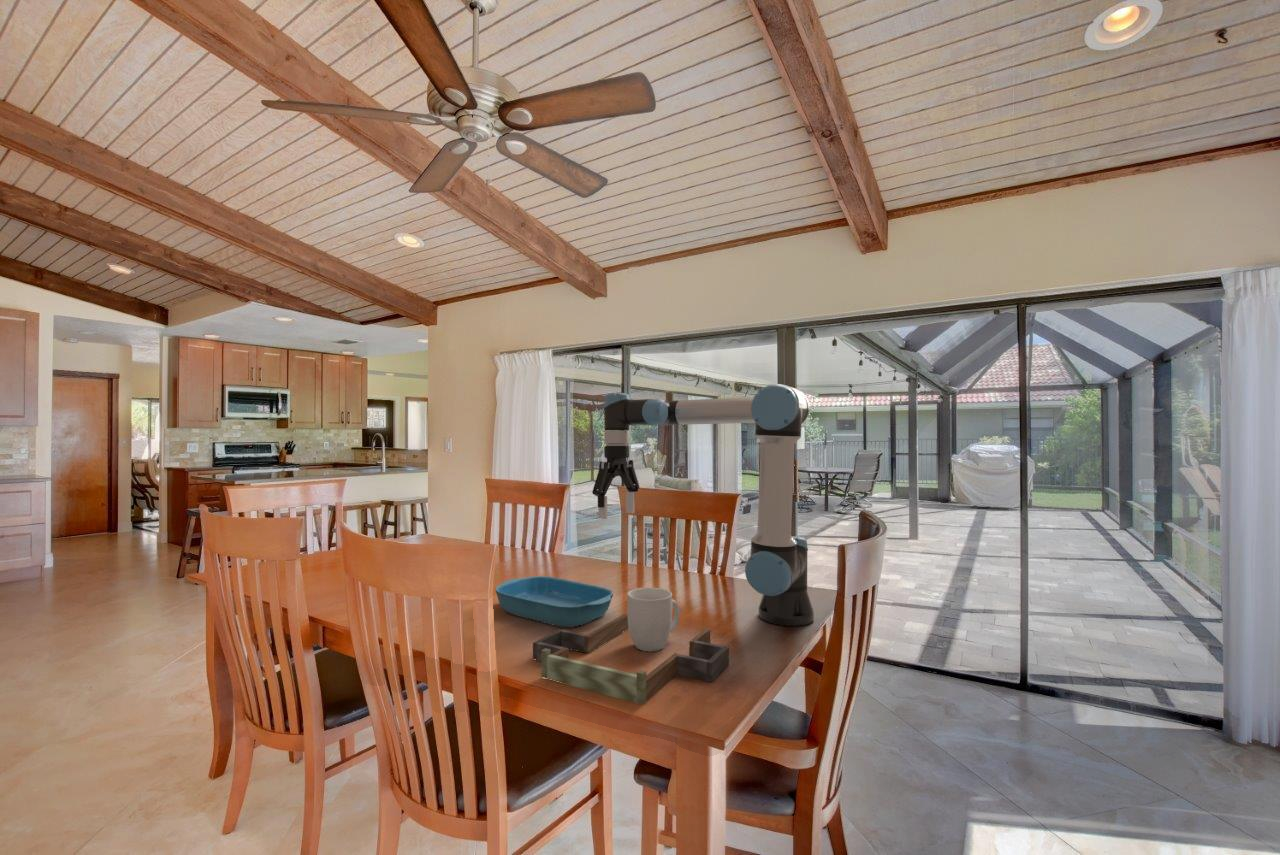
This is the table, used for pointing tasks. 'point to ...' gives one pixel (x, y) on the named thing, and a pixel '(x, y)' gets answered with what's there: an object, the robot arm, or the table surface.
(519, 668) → the table surface
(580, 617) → the casserole dish
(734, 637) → the table surface
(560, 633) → the channel
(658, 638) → the mug
